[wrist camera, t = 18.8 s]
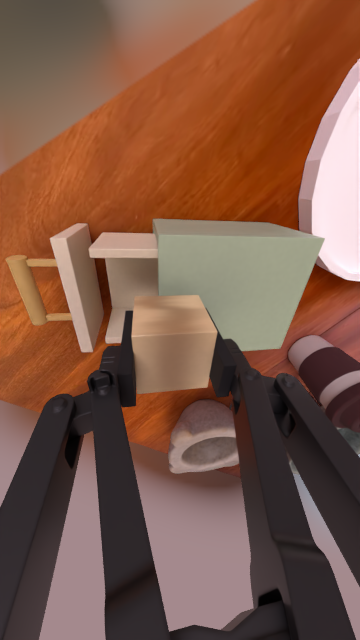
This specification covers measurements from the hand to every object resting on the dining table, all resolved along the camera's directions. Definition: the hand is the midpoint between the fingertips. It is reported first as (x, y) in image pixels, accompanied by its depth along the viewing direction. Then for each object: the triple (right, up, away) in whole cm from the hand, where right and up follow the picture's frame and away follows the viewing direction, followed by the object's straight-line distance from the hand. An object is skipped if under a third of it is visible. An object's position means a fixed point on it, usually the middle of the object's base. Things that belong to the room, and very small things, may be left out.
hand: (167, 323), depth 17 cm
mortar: (+6, -21, +30) cm, 37 cm away
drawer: (-6, +6, +9) cm, 13 cm away
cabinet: (+5, +7, +12) cm, 14 cm away
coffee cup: (+26, -5, +24) cm, 35 cm away
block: (0, 0, 0) cm, 0 cm away
